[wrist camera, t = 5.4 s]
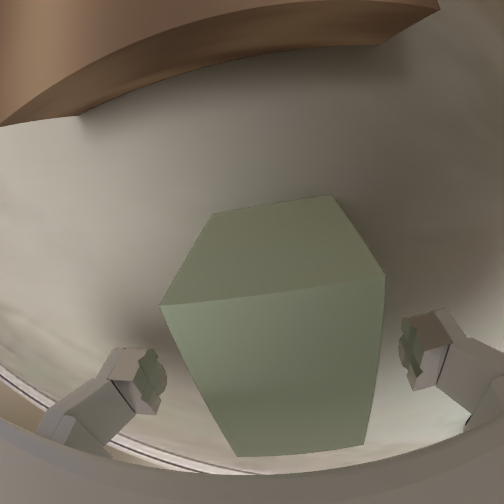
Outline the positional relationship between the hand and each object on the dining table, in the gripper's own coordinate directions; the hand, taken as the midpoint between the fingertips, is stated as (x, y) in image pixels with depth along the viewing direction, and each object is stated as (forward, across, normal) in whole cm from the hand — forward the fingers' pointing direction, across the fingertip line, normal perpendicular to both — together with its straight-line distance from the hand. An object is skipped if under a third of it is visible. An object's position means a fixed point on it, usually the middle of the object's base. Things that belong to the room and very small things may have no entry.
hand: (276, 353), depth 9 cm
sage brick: (+4, 0, 0) cm, 4 cm away
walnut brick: (+4, +1, -15) cm, 16 cm away
